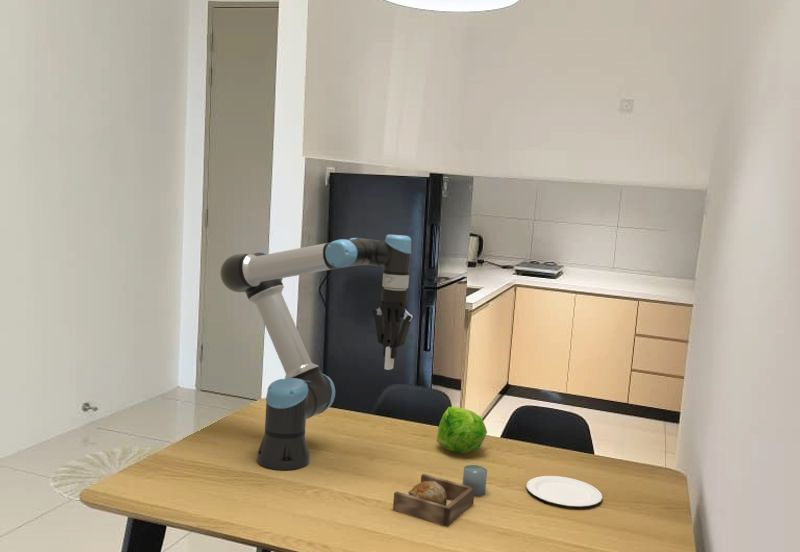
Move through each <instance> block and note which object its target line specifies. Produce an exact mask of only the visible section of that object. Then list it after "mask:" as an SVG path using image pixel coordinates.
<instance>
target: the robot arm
mask: <svg viewBox="0 0 800 552" xmlns="http://www.w3.org/2000/svg"><path fill="white" fill-rule="evenodd" d="M384 239H385V240H378V239H369V238H363V237H351V238H349V239H345V238H341V239H336V240H333V241H331V242H326V243H321V244H315V245H314V244H313V245H310V246H304V247H298V248H295V249H294V248H293V249H289V250H283V251H278V252H273V253H264V252H255V253H238V254H233V255H231V256H229V257H228V258H226V259H225V260H224V262H223V263H222V265H221V266H220V267H221V268H220V278H221V282H222V283H223V285H224V286H225V287H226V288H227V289H228V290H230V291H232V292H235V293H245V294H246V297H247V299H248V301H249V302H250V303H253V304H255V306H256V308H257V309H258V312H259V314H260V316H261V319H262V321H263V324H264V326H265V328H266V331H267V333H268V336H269V338H270V340H271V342H272V344H273V346H274V347H273V348H274V349H275V351H276V352H275V353H276V354H277V356H278V359H279V361H280V363H281V366H282V368H283V370H284V372H285V377H284V378H280V379H277V380H274V381H272V382H271V383H270V384H269V385H268V388H267V392H266V397H265V401H266V403H265V404H266V405H265V421H264V423H265V424H264V435H263V438H262V441H261V443H260V445H259V447H258V448H259V449H258V451H257V454H256V455H257V456H256V462H257V463H258V465H259V466H261V467H264V468H267V469H270V470H276V471H292V470H297V469H302V468H304V467H306V466H307V465H309V463H310V451H309V447H308V443H307V439H306V423H307V420H308V419H310V418H312V417H314V416H317V415H320V414H322V413H324V412H325V411H326V410H328V409H329V408H330V407H332V405H333V403H334V400H335V397H336V388H335V383H334V382H333V380H332V378H330V376H327V375H326V374H324V373H322V370H321V369H320V366H319V365H318V364H315V363H313V362H312V360H311V358H310V356H309V353H308V351H307V349H306V347H305V345H304V342H303V339H302V337H301V334H300V333H299V330H298V328H297V326H296V323H295V322H294V319H293V317H292V314H291V311H290V310H289V308H288V305H287V303H286V301H285V298H284V295H283V293H282V292H283V290H284V287H285V286H284V284H283V279H284V278H290V277H296V276H301V275H307V274H308V275H309V274H314V273H318V272H319V273H320V272H323V271H330V270H337V269H342V268H349V267H350V268H351V267H358V266H374V267H375V266H376V267H383V269H382V270H383V271H382V273H383V274H382V284H381V285H382V287H383V288H382V289H381V298H380V299H381V302H380V305H379V307H378V308H377V309H373V310H372V315H373V316H374V320H375V321H374V323H375V330H376V338H377V343H378V344H381V345H382V346H383V350H382V351H383V352H382V357H383V358H384V370H387V371H390V370H392V369H394V363H395V359H397V356H398V348H399V347H402V346H404V344H405V341H406V339H407V336H408V332H409V329H410V325H411V323H412V321H413V320H414V318H415V315H414V314H410V312H408V308H407V302H408V295H409V291H408V290H407V289H408V288H409V281H410V268H411V256H412V239H411V237H410V236H409V235H402V234H401V235H400V234H387V235H386V236H385V238H384ZM402 319H403V321H402ZM401 323H402V324H401ZM400 326H401V327H400Z"/></svg>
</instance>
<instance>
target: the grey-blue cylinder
mask: <svg viewBox="0 0 800 552" xmlns="http://www.w3.org/2000/svg"><path fill="white" fill-rule="evenodd" d="M487 476H488V469H487V468H485V467H484V466H482V465H478V464H477V465H476V464H469V465H465V466H464V467H463V474H462V485H466V486H470V487H473V488H475V490H474V498H481V497H483V496H485V495H486V489H487V479H488V478H487Z"/></svg>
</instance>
